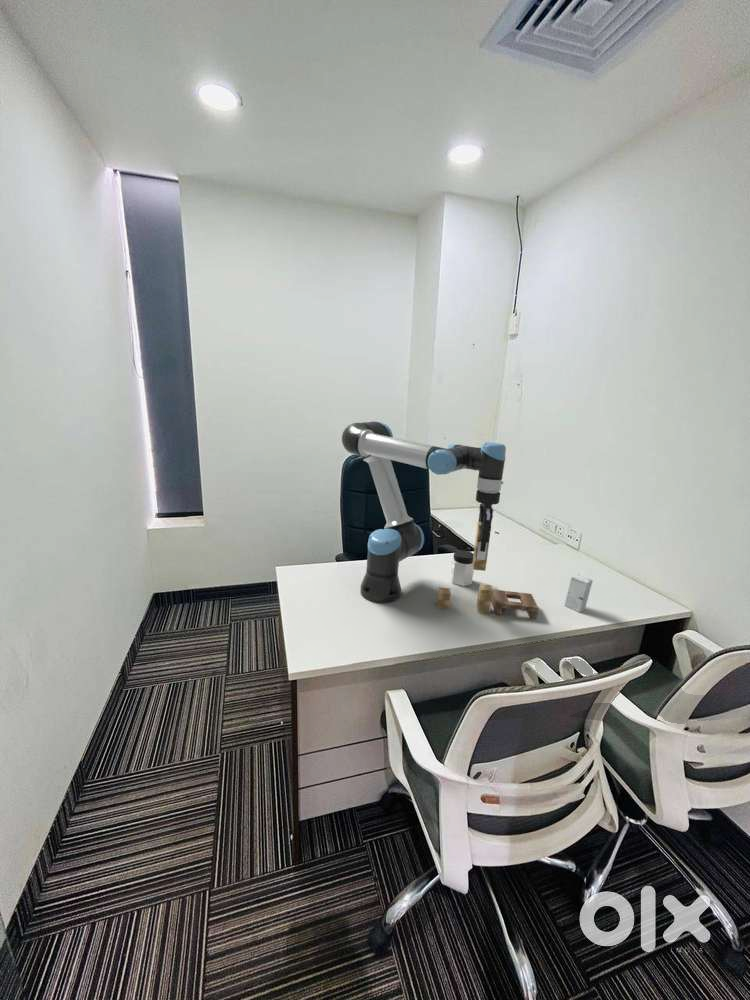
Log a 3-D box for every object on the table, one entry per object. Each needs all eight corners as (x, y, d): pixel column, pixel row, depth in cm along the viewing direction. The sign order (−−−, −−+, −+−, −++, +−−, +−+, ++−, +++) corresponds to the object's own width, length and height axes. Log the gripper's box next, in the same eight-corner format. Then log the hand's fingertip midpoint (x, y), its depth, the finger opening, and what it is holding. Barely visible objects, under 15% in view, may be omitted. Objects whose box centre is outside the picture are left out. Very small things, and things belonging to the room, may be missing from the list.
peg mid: (477, 612, 145) (481, 589, 143) (476, 606, 149) (479, 584, 146) (489, 613, 145) (493, 590, 142) (487, 608, 148) (491, 585, 146)
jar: (448, 575, 172) (452, 549, 168) (468, 576, 172) (472, 550, 168) (452, 586, 163) (456, 558, 160) (473, 587, 163) (477, 559, 160)
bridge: (495, 614, 144) (497, 603, 143) (490, 600, 154) (492, 589, 153) (536, 619, 143) (538, 607, 142) (529, 604, 153) (531, 593, 151)
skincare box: (563, 605, 154) (570, 576, 151) (570, 602, 157) (576, 573, 153) (580, 613, 149) (587, 582, 146) (586, 609, 152) (593, 580, 149)
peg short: (437, 607, 146) (439, 592, 145) (437, 602, 150) (439, 587, 148) (448, 609, 146) (451, 593, 144) (448, 603, 150) (450, 588, 148)
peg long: (473, 569, 141) (478, 525, 137) (472, 564, 145) (477, 521, 141) (485, 570, 140) (491, 526, 136) (484, 565, 144) (489, 522, 140)
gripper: (504, 497, 127) (494, 568, 133) (496, 485, 143) (488, 548, 149) (479, 495, 128) (471, 565, 134) (474, 483, 144) (467, 546, 150)
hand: (480, 556), depth 142 cm, fingers closed on peg long, 4 cm apart
